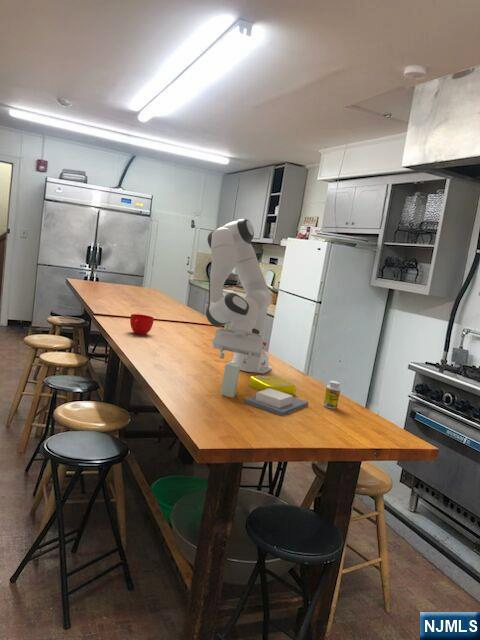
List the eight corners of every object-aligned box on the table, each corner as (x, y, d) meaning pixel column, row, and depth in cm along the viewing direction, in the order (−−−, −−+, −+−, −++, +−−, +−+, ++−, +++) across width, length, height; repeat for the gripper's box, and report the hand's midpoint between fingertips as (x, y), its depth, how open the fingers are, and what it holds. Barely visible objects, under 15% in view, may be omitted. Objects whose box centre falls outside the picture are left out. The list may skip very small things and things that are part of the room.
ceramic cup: (121, 333, 272) (124, 315, 271) (133, 330, 289) (135, 313, 288) (144, 338, 270) (146, 320, 269) (154, 334, 287) (157, 317, 286)
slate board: (272, 393, 201) (274, 383, 201) (307, 405, 193) (309, 394, 192) (243, 402, 183) (245, 390, 182) (281, 416, 174) (284, 403, 174)
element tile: (268, 397, 198) (270, 385, 197) (247, 385, 210) (248, 374, 209) (296, 396, 206) (298, 385, 206) (274, 385, 218) (276, 374, 218)
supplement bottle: (326, 408, 193) (331, 383, 192) (320, 403, 199) (325, 379, 197) (339, 409, 195) (344, 384, 193) (333, 405, 200) (338, 380, 199)
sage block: (222, 391, 193) (227, 361, 191) (235, 394, 192) (240, 364, 190) (220, 394, 188) (225, 364, 186) (233, 397, 187) (238, 366, 185)
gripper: (216, 322, 202) (207, 350, 193) (266, 332, 198) (258, 360, 190) (217, 332, 206) (207, 359, 198) (265, 342, 203) (258, 369, 195)
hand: (233, 360), depth 194 cm, fingers open, 8 cm apart
